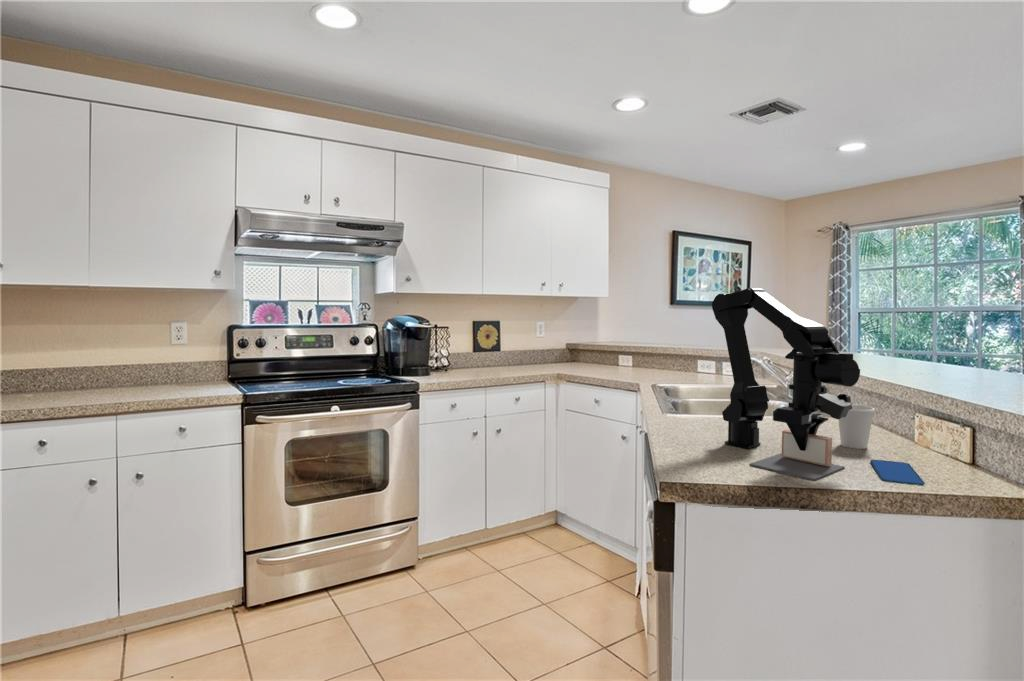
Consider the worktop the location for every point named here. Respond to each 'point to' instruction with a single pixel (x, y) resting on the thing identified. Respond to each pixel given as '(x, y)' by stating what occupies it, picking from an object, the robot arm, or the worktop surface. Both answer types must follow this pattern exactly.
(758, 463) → the mat
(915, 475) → the smartphone
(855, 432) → the dixie cup
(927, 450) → the worktop surface
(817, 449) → the block
